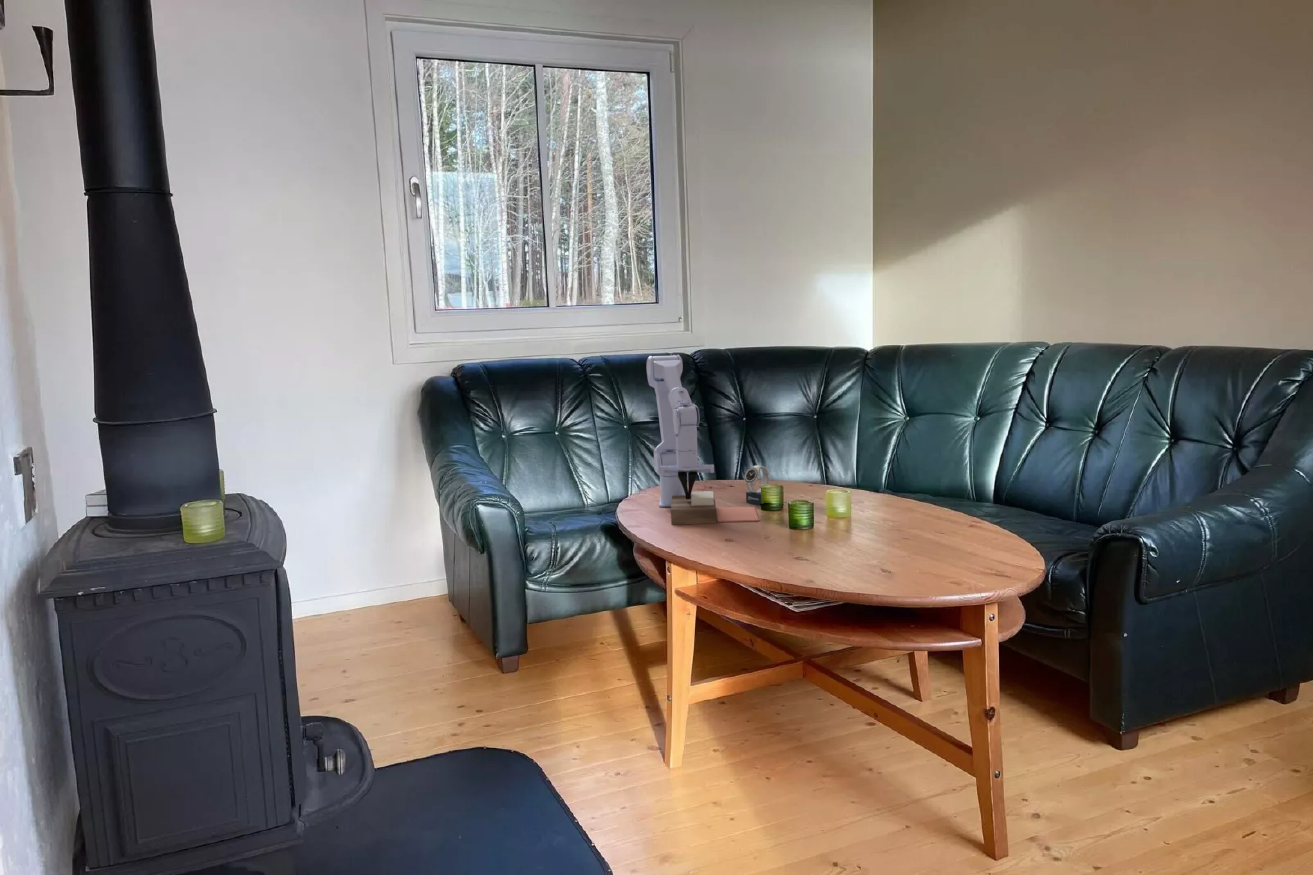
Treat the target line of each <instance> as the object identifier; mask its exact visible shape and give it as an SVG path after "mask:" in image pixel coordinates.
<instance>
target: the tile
mask: <svg viewBox="0 0 1313 875" xmlns="http://www.w3.org/2000/svg"><path fill="white" fill-rule="evenodd" d="M691 495H692V496H691V504H692V505H714V498H715V495H714V490H712V491H710V490H704V491H701V490H700V491H692V492H691ZM713 495H714V496H713Z"/></svg>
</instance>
